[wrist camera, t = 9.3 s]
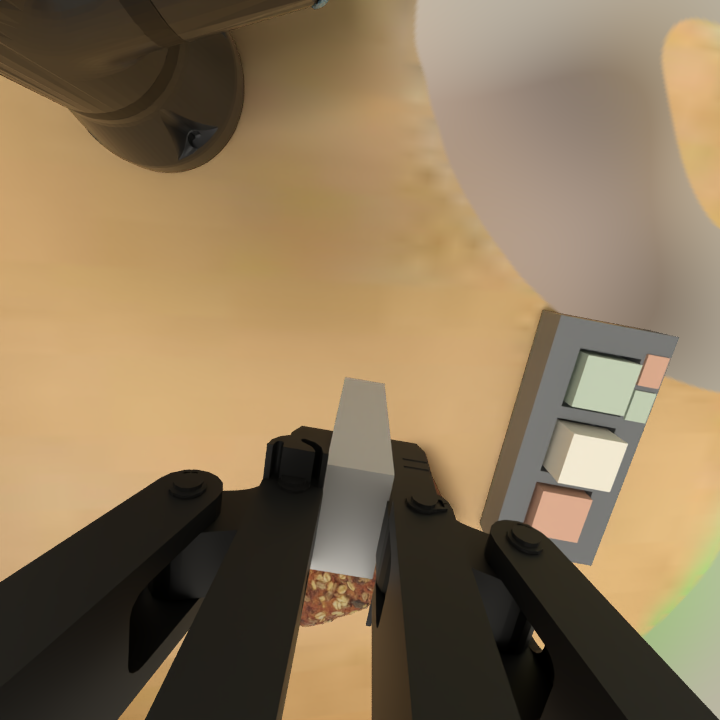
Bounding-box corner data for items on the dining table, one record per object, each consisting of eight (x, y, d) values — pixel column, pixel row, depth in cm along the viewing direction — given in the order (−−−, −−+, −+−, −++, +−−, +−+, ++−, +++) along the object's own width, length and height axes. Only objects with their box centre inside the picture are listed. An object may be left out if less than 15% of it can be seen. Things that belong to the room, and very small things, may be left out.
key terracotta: (529, 472, 42) (543, 491, 39) (575, 481, 42) (592, 500, 39) (516, 513, 44) (529, 534, 40) (561, 521, 44) (577, 543, 40)
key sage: (569, 347, 39) (588, 355, 36) (619, 356, 39) (642, 365, 36) (554, 394, 40) (571, 406, 37) (602, 403, 40) (623, 416, 37)
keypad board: (542, 310, 40) (562, 315, 36) (649, 330, 40) (681, 337, 36) (479, 523, 46) (490, 549, 41) (572, 540, 46) (592, 567, 42)
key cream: (556, 419, 39) (574, 433, 36) (605, 428, 39) (628, 443, 36) (541, 464, 40) (557, 482, 37) (589, 473, 40) (609, 492, 37)
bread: (311, 571, 48) (296, 649, 38) (271, 499, 46) (245, 562, 36) (455, 519, 46) (478, 588, 36) (421, 441, 44) (436, 492, 34)
